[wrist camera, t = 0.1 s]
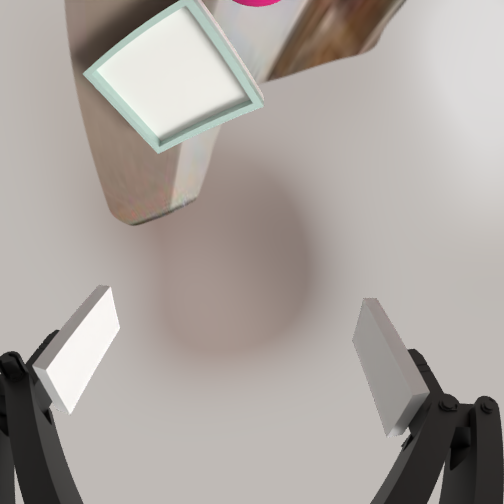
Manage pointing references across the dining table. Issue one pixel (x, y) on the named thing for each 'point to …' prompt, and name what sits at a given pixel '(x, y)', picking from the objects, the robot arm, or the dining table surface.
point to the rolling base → (176, 76)
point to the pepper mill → (256, 2)
